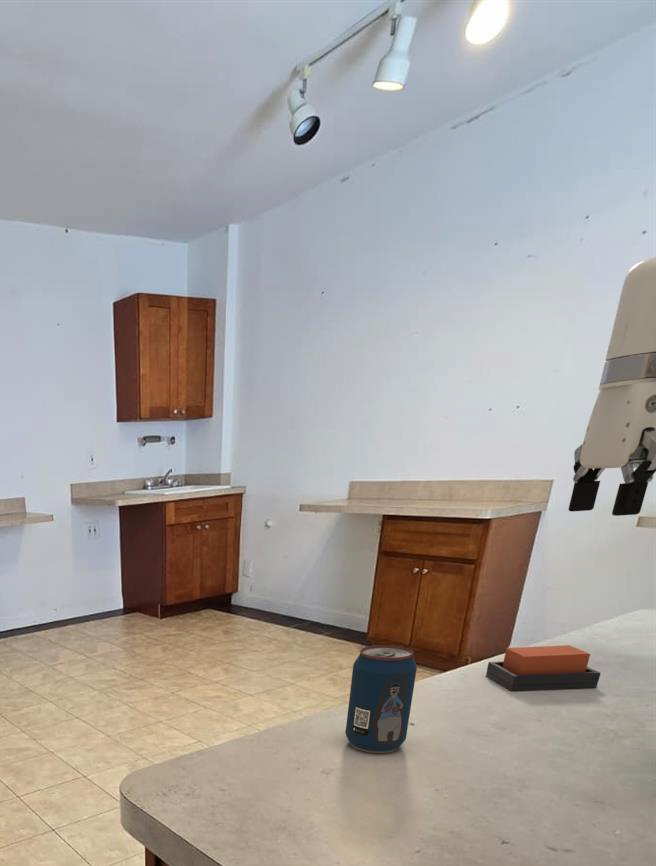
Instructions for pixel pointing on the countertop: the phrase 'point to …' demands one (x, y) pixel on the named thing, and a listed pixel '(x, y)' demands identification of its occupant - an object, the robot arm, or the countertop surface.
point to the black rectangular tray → (542, 679)
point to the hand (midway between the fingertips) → (601, 512)
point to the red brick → (545, 660)
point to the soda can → (380, 698)
